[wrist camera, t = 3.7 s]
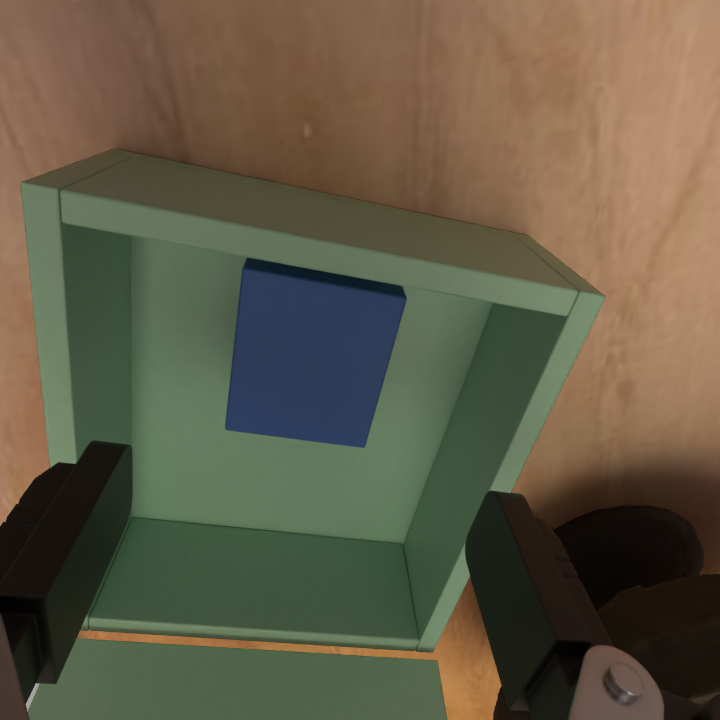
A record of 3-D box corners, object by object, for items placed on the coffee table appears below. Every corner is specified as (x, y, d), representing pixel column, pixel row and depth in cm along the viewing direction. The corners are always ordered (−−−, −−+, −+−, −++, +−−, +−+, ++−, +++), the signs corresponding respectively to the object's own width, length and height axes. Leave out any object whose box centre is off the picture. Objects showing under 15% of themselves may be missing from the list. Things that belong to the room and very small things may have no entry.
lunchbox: (113, 148, 16) (19, 181, 11) (530, 235, 19) (607, 296, 14) (119, 513, 24) (66, 630, 19) (412, 542, 26) (433, 653, 21)
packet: (237, 384, 20) (224, 430, 17) (254, 237, 17) (241, 267, 15) (359, 402, 21) (364, 449, 18) (395, 264, 18) (408, 297, 15)
